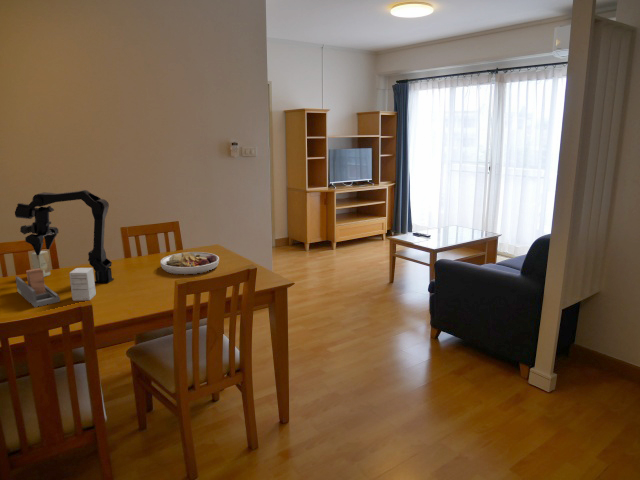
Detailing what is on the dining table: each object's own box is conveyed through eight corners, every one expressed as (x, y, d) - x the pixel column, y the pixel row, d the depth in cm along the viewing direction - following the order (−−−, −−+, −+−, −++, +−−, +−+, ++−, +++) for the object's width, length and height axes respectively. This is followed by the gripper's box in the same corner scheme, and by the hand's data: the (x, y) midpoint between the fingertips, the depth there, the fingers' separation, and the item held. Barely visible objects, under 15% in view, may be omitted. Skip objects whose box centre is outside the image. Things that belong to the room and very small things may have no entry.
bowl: (150, 275, 233) (149, 260, 232) (175, 259, 262) (174, 245, 261) (207, 278, 230) (207, 263, 228) (226, 261, 259) (226, 248, 257)
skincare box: (41, 278, 225) (38, 254, 222) (33, 277, 226) (30, 253, 223) (51, 274, 231) (48, 250, 228) (43, 273, 232) (40, 250, 229)
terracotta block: (29, 292, 200) (26, 270, 198) (42, 289, 204) (39, 268, 201) (32, 295, 197) (29, 273, 194) (45, 292, 200) (42, 270, 198)
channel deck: (17, 291, 207) (15, 276, 205) (41, 286, 213) (39, 272, 212) (34, 307, 189) (32, 291, 187) (60, 301, 196) (58, 286, 194)
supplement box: (79, 294, 204) (76, 267, 201) (96, 294, 205) (93, 267, 202) (71, 300, 197) (68, 272, 194) (89, 300, 197) (86, 272, 194)
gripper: (34, 213, 220) (35, 244, 224) (12, 222, 202) (13, 256, 207) (58, 216, 221) (59, 247, 226) (38, 225, 204) (39, 259, 208)
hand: (42, 252), depth 216 cm, fingers open, 9 cm apart
